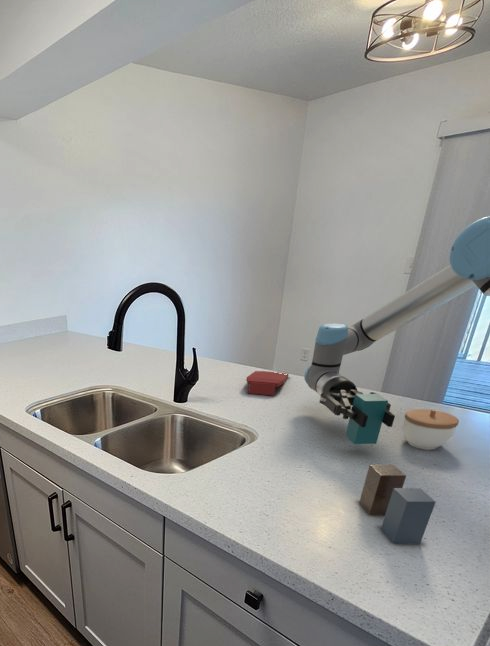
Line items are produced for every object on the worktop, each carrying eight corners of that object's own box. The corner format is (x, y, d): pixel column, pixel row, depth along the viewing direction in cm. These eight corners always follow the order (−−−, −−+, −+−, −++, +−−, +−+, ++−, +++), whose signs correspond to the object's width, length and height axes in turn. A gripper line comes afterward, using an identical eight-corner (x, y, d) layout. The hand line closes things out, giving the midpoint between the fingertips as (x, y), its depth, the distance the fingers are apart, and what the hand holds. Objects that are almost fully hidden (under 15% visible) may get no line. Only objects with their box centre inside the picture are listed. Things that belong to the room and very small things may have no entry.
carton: (253, 383, 174) (242, 392, 153) (255, 370, 172) (244, 378, 151) (286, 386, 168) (279, 396, 147) (288, 373, 166) (281, 381, 146)
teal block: (366, 435, 109) (377, 393, 104) (376, 443, 105) (388, 400, 100) (345, 435, 110) (355, 394, 105) (354, 444, 105) (365, 401, 100)
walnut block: (382, 502, 89) (393, 464, 85) (393, 515, 85) (406, 475, 81) (358, 502, 90) (369, 464, 86) (369, 515, 86) (380, 475, 82)
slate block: (406, 529, 81) (420, 488, 77) (420, 544, 77) (436, 501, 73) (380, 528, 82) (393, 487, 78) (393, 543, 78) (407, 501, 74)
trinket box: (423, 456, 106) (435, 420, 101) (387, 439, 115) (397, 405, 111) (459, 450, 107) (473, 415, 103) (421, 433, 117) (432, 400, 113)
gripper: (367, 402, 120) (416, 436, 100) (299, 403, 123) (333, 436, 102) (374, 375, 117) (425, 405, 97) (304, 377, 119) (339, 406, 99)
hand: (378, 421), depth 99 cm, fingers closed on teal block, 5 cm apart
